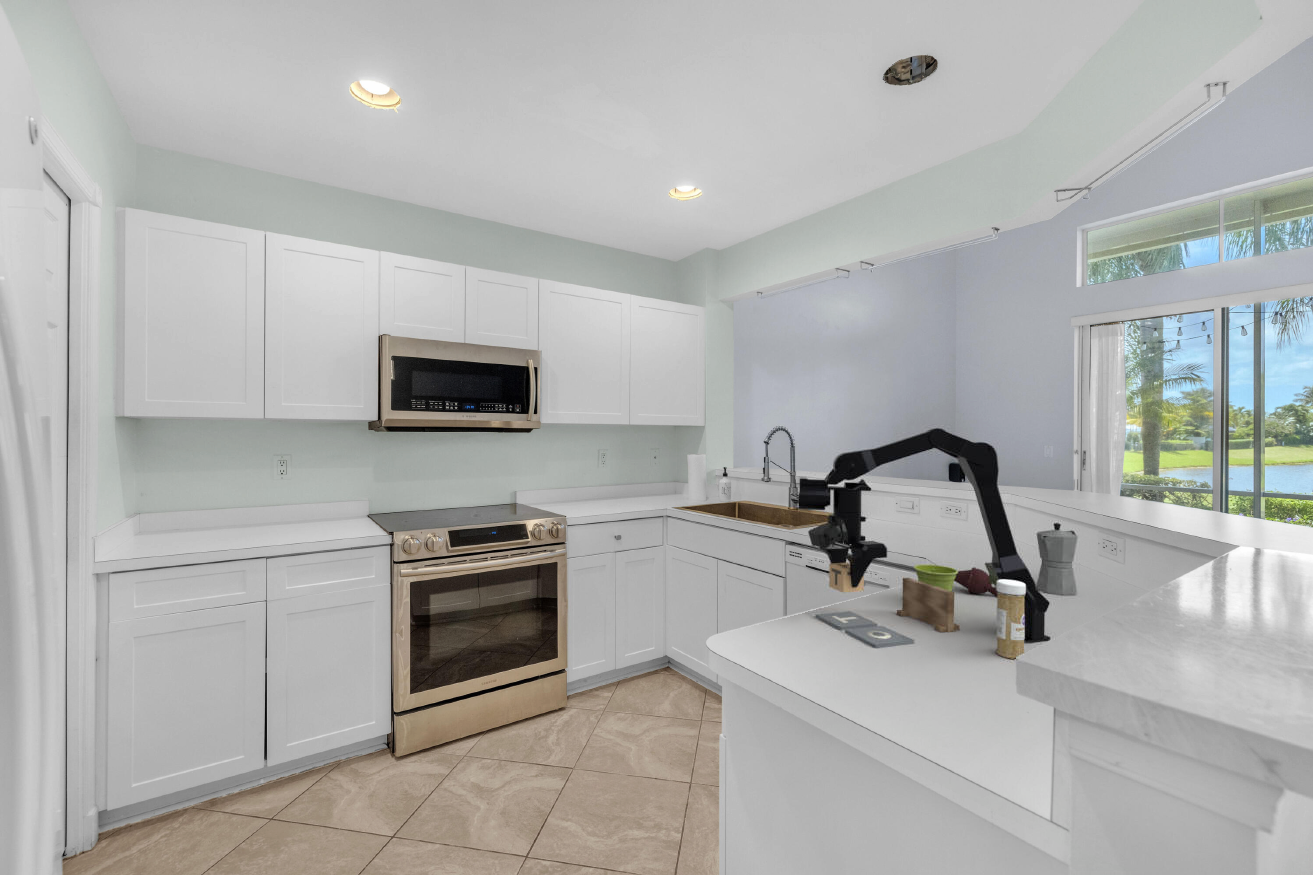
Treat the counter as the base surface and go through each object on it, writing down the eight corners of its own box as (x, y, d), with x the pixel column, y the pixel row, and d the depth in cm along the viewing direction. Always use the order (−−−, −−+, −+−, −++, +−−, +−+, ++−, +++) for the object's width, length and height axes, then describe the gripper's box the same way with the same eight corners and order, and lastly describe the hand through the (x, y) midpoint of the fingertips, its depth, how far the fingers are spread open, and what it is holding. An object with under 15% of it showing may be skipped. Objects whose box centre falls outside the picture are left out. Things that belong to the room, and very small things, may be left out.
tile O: (914, 643, 111) (914, 639, 111) (875, 647, 108) (875, 644, 108) (882, 628, 119) (882, 625, 119) (845, 632, 117) (845, 628, 117)
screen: (960, 630, 119) (961, 591, 119) (941, 632, 117) (941, 593, 117) (913, 612, 131) (914, 577, 131) (895, 614, 130) (896, 578, 130)
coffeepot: (1062, 598, 145) (1062, 527, 145) (1023, 589, 154) (1024, 522, 154) (1094, 591, 153) (1095, 523, 153) (1055, 583, 161) (1056, 519, 161)
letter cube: (863, 590, 122) (864, 566, 122) (843, 592, 120) (843, 568, 120) (848, 585, 127) (848, 562, 127) (828, 586, 125) (829, 563, 125)
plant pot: (965, 611, 133) (965, 573, 133) (924, 610, 133) (924, 572, 133) (945, 600, 142) (946, 564, 142) (907, 599, 142) (907, 564, 142)
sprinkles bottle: (1025, 661, 102) (1026, 585, 102) (995, 656, 104) (996, 582, 105) (1024, 653, 106) (1024, 580, 106) (995, 648, 108) (996, 577, 109)
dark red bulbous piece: (938, 566, 151) (1003, 581, 141) (947, 555, 156) (1011, 569, 146) (937, 590, 153) (1002, 607, 143) (946, 579, 158) (1009, 594, 148)
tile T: (877, 626, 121) (877, 623, 121) (840, 630, 118) (840, 626, 118) (849, 613, 129) (849, 610, 129) (815, 617, 127) (815, 614, 127)
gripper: (790, 507, 130) (790, 576, 130) (842, 518, 112) (841, 598, 112) (833, 506, 134) (832, 573, 134) (889, 516, 116) (888, 594, 116)
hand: (846, 584), depth 124 cm, fingers closed on letter cube, 5 cm apart
